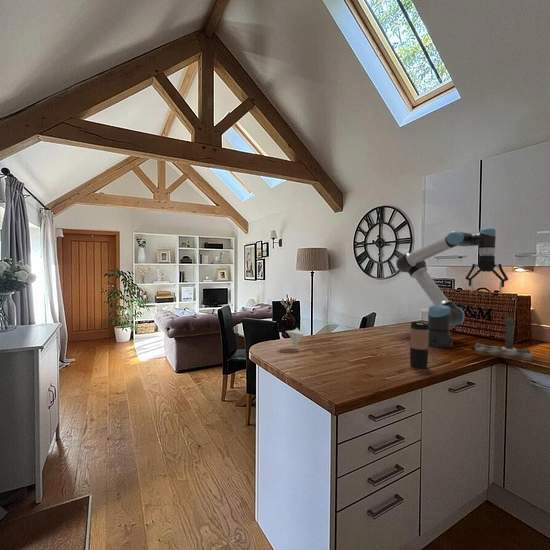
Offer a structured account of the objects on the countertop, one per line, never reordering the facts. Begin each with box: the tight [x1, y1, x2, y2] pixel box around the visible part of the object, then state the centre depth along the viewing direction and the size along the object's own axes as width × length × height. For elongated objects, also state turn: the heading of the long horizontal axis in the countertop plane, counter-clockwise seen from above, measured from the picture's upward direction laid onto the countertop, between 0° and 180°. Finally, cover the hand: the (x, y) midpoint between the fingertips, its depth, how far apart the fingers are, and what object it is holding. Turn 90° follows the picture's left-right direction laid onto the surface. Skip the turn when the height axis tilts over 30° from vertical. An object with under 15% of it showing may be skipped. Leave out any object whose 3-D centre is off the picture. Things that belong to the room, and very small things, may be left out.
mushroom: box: [285, 327, 305, 350], centre depth 169 cm, size 10×11×12 cm
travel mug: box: [409, 321, 429, 369], centre depth 144 cm, size 8×8×20 cm
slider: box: [501, 317, 517, 352], centre depth 164 cm, size 6×5×19 cm
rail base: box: [474, 342, 533, 362], centre depth 166 cm, size 24×12×4 cm, turn 57°
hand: (485, 292), depth 178 cm, fingers open, 13 cm apart
